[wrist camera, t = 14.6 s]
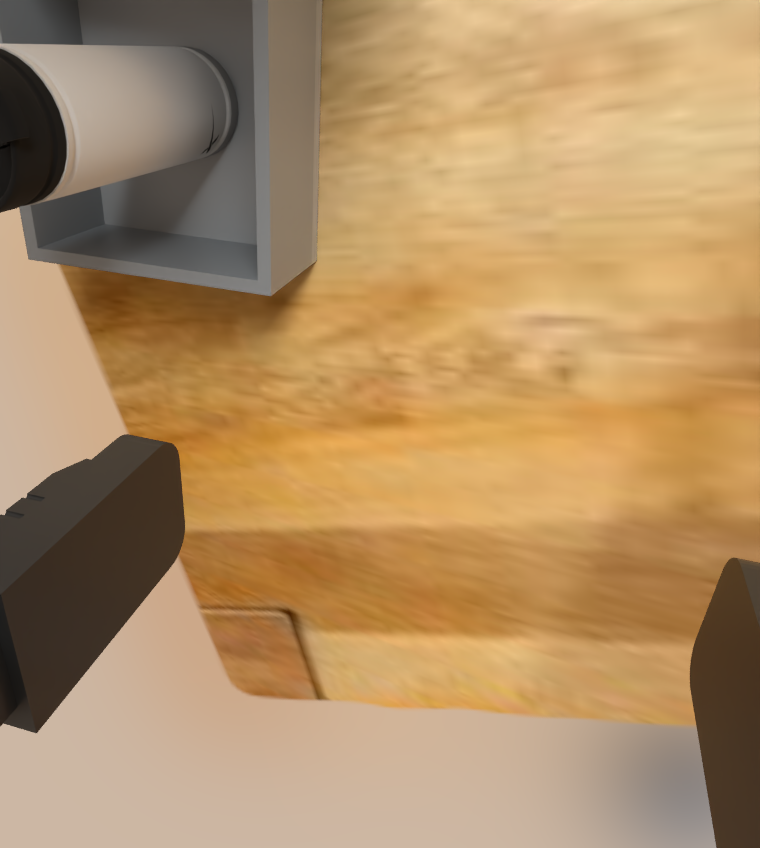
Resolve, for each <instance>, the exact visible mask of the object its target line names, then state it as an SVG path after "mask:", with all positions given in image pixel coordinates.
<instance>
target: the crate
mask: <svg viewBox="0 0 760 848" xmlns="http://www.w3.org/2000/svg"><path fill="white" fill-rule="evenodd" d="M321 42H322V0H0V44H57V45H117V46H171V47H172V46H177V47H193V48H196V49H200V50H202V51H204V52H206V53H207V54H209V55H211V56H212V57H213V58H214V59H215V60H217V61H218V62H219V63H220V65H221V66H222V67H223V68H224V69H225V71H226V72H227V74H228V76H229V77H230V79H231V81H232V84H233V86H234V89H235V92H236V97H237V101H238V118H237V125H236V128H235V131H234V134H233V136H232V137H231V139H230V141H229V142H228V144H227V145H226V146H225V147H224V148H223V149H222V150H220V151H219V152H218V153H216V154H214V155H211V156H209V157H206V158H202V159H197V160H195V161H191V162H187V163H184V164H180V165H177V166H173V167H169V168H166V169H162V170H158V171H155V172H151V173H148V174H144V175H140V176H137V177H133V178H129V179H126V180H122V181H118V182H115V183H111V184H108V185H104V186H100V187H97V188H93V189H89V190H86V191H82V192H79V193H75V194H71V195H68V196H64V197H60V198H57V199H53V200H49V201H45V202H41V203H39V204H35V205H28V206H20V207H19V208H20V213H21V219H22V225H23V231H24V236H25V241H26V247H27V253H28V259H30V260H36V261H43V262H49V263H56V264H63V265H69V266H76V267H82V268H89V269H95V270H102V271H109V272H115V273H122V274H128V275H135V276H141V277H148V278H155V279H161V280H168V281H174V282H181V283H187V284H194V285H201V286H207V287H214V288H220V289H227V290H233V291H240V292H247V293H253V294H260V295H266V296H272V295H273V294H274V293H276V292H277V291H278V290H280V289H281V288H282V287H283V286H285V285H286V284H287V283H289V282H290V281H291V280H293V279H294V278H295V277H296V276H298V275H299V274H300V273H302V272H303V271H304V270H305V269H307V268H308V267H309V266H311V265H312V264H313V263H314V262H316V261H317V223H318V178H319V133H320V87H321Z"/></svg>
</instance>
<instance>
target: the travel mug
mask: <svg viewBox="0 0 760 848" xmlns="http://www.w3.org/2000/svg"><path fill="white" fill-rule="evenodd" d="M237 118H238V101H237V97H236V92H235V89H234V86H233V84H232V81H231V79H230V77H229V76H228V74H227V72H226V71H225V69H224V68H223V67H222V66H221V65H220V63H219V62H218V61H217V60H215V59H214V58H213V57H212V56H211V55H209V54H207V53H206V52H204V51H202V50H200V49H196V48H193V47H177V46H172V47H171V46H117V45H57V44H0V212H4V211H7V210H11V209H15V208H17V207H20V206H28V205H35V204H39V203H41V202H45V201H49V200H53V199H57V198H60V197H64V196H68V195H71V194H75V193H79V192H82V191H86V190H89V189H93V188H97V187H100V186H104V185H108V184H111V183H115V182H118V181H122V180H126V179H129V178H133V177H137V176H140V175H144V174H148V173H151V172H155V171H158V170H162V169H166V168H169V167H173V166H177V165H180V164H184V163H187V162H191V161H195V160H197V159H202V158H206V157H209V156H211V155H214V154H216V153H218V152H219V151H220V150H222V149H223V148H224V147H225V146H226V145H227V144H228V142H229V141H230V139H231V137H232V136H233V134H234V131H235V128H236V125H237Z"/></svg>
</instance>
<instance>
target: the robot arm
mask: <svg viewBox="0 0 760 848" xmlns="http://www.w3.org/2000/svg"><path fill="white" fill-rule="evenodd" d="M184 533H185V519H184V507H183V495H182V484H181V472H180V460H179V454H178V450H177V448H176V447H175V446H174V445H173V444H172V443H168V442H163V441H158V440H153V439H148V438H143V437H138V436H133V435H128V434H127V435H122V436H120V437H119V438H117V439H116V440H115V441H114V442H112V443H111V444H110V445H109V446H108V447H106V448H105V449H104V450H103V451H102V452H100V453H99V454H98V455H97V456H95V457H94V458H93V459H92V460H89V459H85V460H83V461H81V462H78V463H76V464H74V465H71V466H69V467H67V468H64V469H62V470H60V471H58V472H55V473H53V474H52V475H50V476H49V477H48V478H46V479H45V480H44V481H43V482H41V483H40V484H39V485H38V486H36V487H35V488H34V489H33V490H31V491H30V492H29V493H28V494H27V498H21V499H20V500H19V501H18V502H16V503H15V504H14V505H12V506H11V507H10V508H9V509H7V510H6V514H5V515H0V726H1V725H2V724H3V723H4V724H7V725H11V726H14V727H17V728H21V729H24V730H27V731H31V732H34V733H37V732H38V731H39V730H40V728H41V727H42V726H43V725H44V723H45V722H46V721H47V720H48V719H49V717H50V716H51V715H52V714H53V712H54V711H55V710H56V708H57V707H58V706H59V705H60V704H61V702H62V701H63V700H64V699H65V697H66V696H67V695H68V694H69V692H70V691H71V690H72V689H73V687H74V686H75V685H76V684H77V683H78V681H79V680H80V678H81V677H82V676H83V675H84V674H85V672H86V671H87V670H88V669H89V668H90V666H91V665H92V664H93V663H94V661H95V660H96V659H97V658H98V657H99V655H100V654H101V653H102V652H103V650H104V649H105V648H106V647H107V645H108V644H109V643H110V641H111V640H112V639H113V638H114V637H115V635H116V634H117V633H118V632H119V630H120V629H121V628H122V627H123V626H124V624H125V623H126V622H127V620H128V619H129V618H130V617H131V616H132V614H133V613H134V612H135V610H136V609H137V608H138V607H139V606H140V604H141V603H142V602H143V601H144V599H145V598H146V597H147V596H148V594H149V593H150V592H151V591H152V589H153V588H154V587H155V586H156V584H157V583H158V582H159V581H160V580H161V578H162V577H163V576H164V575H165V573H166V572H167V571H168V570H169V568H170V567H171V566H172V564H173V563H174V562H175V560H176V558H177V556H178V554H179V552H180V549H181V546H182V543H183V539H184ZM690 688H691V695H692V701H693V707H694V713H695V719H696V725H697V731H698V737H699V743H700V750H701V756H702V762H703V768H704V774H705V780H706V786H707V792H708V798H709V804H710V811H711V817H712V823H713V828H714V835H715V841H716V847H717V848H760V563H758V562H753V561H748V560H743V559H738V558H731V559H730V560H729V561H728V562H727V563H726V565H725V567H724V569H723V571H722V574H721V576H720V579H719V581H718V584H717V586H716V589H715V592H714V594H713V597H712V599H711V602H710V604H709V607H708V610H707V612H706V615H705V617H704V620H703V622H702V625H701V627H700V630H699V633H698V635H697V638H696V641H695V644H694V647H693V652H692V657H691V665H690Z"/></svg>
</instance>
